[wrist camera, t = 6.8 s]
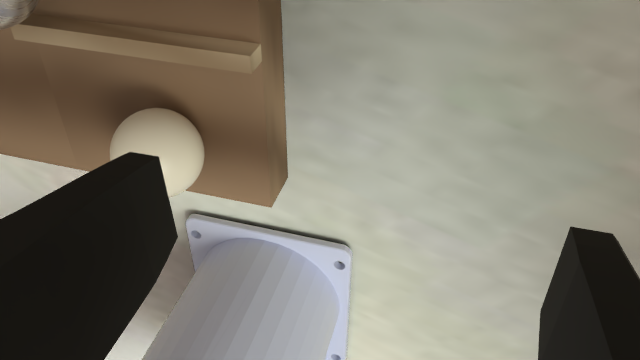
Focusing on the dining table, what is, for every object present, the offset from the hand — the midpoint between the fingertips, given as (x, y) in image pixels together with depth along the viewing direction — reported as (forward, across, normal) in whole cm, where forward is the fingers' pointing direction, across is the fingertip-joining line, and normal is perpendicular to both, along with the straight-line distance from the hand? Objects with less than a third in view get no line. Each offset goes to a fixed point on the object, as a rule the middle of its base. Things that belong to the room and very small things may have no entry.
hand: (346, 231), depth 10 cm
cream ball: (+7, +8, +5) cm, 12 cm away
